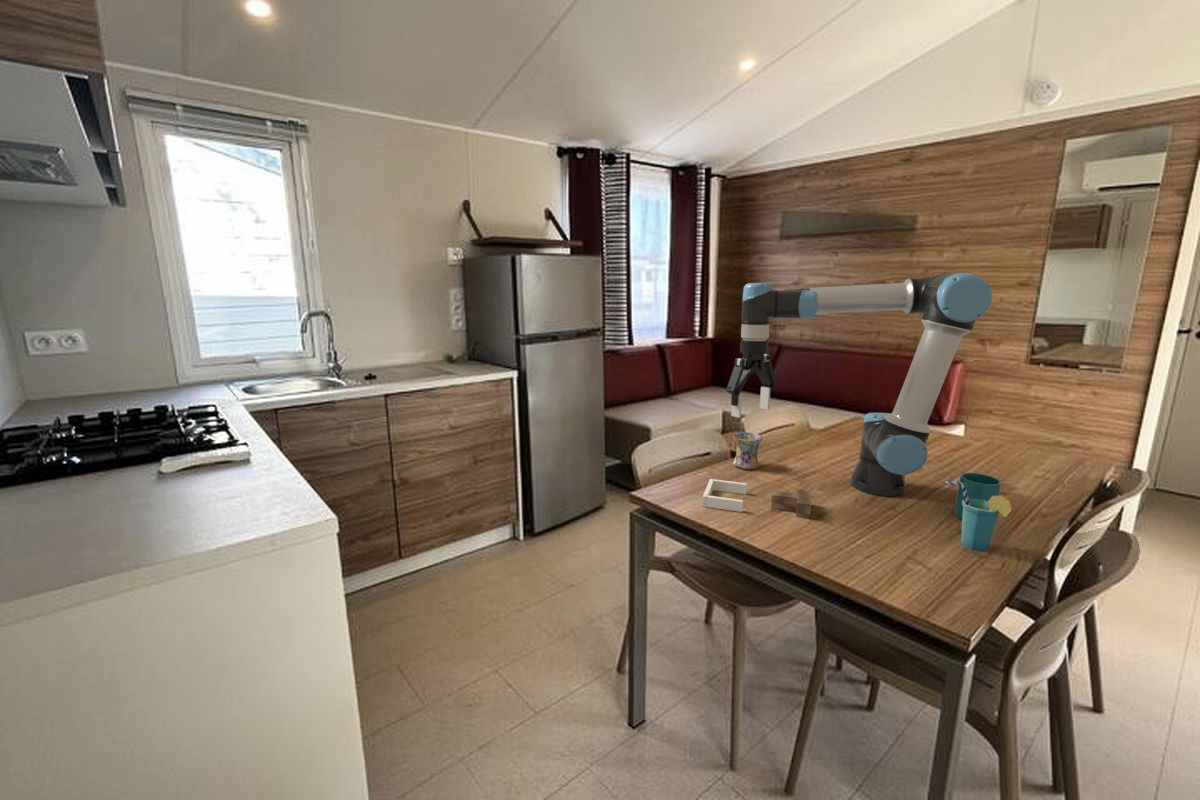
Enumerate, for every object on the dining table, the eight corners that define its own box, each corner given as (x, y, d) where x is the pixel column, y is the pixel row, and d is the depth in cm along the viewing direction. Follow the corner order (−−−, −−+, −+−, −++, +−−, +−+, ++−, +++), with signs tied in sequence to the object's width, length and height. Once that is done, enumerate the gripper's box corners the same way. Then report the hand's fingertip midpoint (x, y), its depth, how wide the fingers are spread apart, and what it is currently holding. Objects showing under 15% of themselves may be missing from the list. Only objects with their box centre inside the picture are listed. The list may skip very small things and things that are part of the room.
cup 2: (932, 540, 133) (941, 482, 130) (940, 530, 139) (949, 474, 135) (1002, 561, 124) (1014, 499, 120) (1007, 548, 129) (1019, 489, 126)
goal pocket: (746, 492, 161) (746, 483, 161) (741, 512, 148) (742, 501, 147) (709, 488, 165) (710, 478, 164) (702, 506, 152) (702, 496, 151)
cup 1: (999, 514, 148) (1006, 475, 145) (990, 529, 139) (998, 487, 137) (960, 505, 154) (966, 467, 151) (950, 518, 146) (956, 478, 143)
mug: (764, 471, 179) (766, 440, 177) (736, 471, 179) (738, 440, 176) (752, 459, 191) (754, 430, 189) (726, 459, 191) (727, 430, 188)
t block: (809, 504, 154) (810, 491, 153) (809, 518, 145) (811, 504, 144) (772, 499, 157) (773, 486, 156) (770, 513, 148) (771, 499, 147)
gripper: (768, 334, 163) (764, 403, 168) (715, 341, 148) (712, 417, 153) (791, 336, 158) (786, 408, 162) (738, 344, 142) (734, 422, 147)
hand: (750, 412), depth 157 cm, fingers open, 13 cm apart
